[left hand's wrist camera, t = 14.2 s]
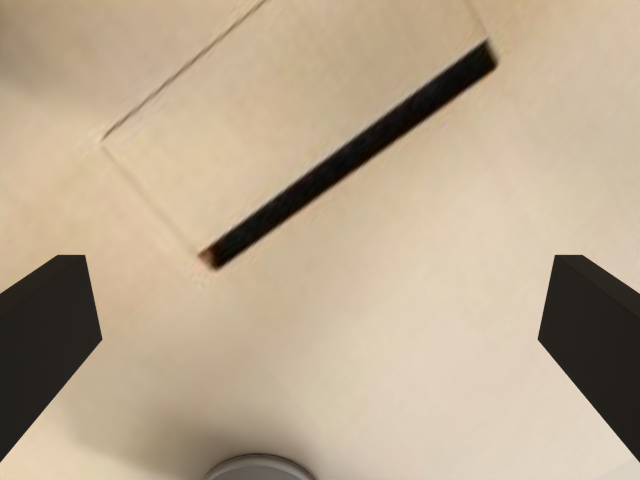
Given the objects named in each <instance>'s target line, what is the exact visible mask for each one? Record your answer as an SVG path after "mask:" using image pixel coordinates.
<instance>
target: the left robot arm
mask: <svg viewBox="0 0 640 480" xmlns="http://www.w3.org/2000/svg"><path fill="white" fill-rule="evenodd" d="M101 341H102V335H101V330H100V325H99V321H98V316H97V311H96V306H95V301H94V296H93V291H92V287H91V282H90V277H89V272H88V267H87V262H86V257H85V255H57V256H55V257H54V258H52V259H51V260H49V261H48V262H46V263H45V264H43V265H42V266H41V267H39V268H38V269H36V270H35V271H33V272H32V273H30V274H29V275H27V276H26V277H24V278H23V279H21V280H20V281H18V282H17V283H15V284H14V285H12V286H11V287H10V288H8V289H7V290H5V291H4V292H2V293H1V294H0V462H1V461H2V460H3V459H4V457H5V456H6V455H7V454H8V453H9V451H10V450H11V449H12V448H13V447H14V445H15V444H16V443H17V442H18V441H19V439H20V438H21V437H22V436H23V434H24V433H25V432H26V431H27V430H28V428H29V427H30V426H31V425H32V424H33V422H34V421H35V420H36V419H37V418H38V416H39V415H40V414H41V413H42V412H43V410H44V409H45V408H46V407H47V406H48V404H49V403H50V402H51V401H52V400H53V398H54V397H55V396H56V395H57V394H58V392H59V391H60V390H61V389H62V388H63V386H64V385H65V384H66V383H67V381H68V380H69V379H70V378H71V377H72V375H73V374H74V373H75V372H76V371H77V369H78V368H79V367H80V366H81V365H82V363H83V362H84V361H85V360H86V359H87V357H88V356H89V355H90V354H91V353H92V351H93V350H94V349H95V348H96V347H97V345H98V344H99V343H100V342H101ZM538 341H539V342H540V343H541V344H542V345H543V347H544V348H545V349H546V350H547V351H548V353H549V354H550V355H551V356H552V357H553V359H554V360H555V361H556V362H557V363H558V365H559V366H560V367H561V368H562V369H563V371H564V372H565V373H566V374H567V375H568V377H569V378H570V379H571V380H572V381H573V383H574V384H575V385H576V386H577V388H578V389H579V390H580V391H581V392H582V394H583V395H584V396H585V397H586V398H587V400H588V401H589V402H590V403H591V404H592V406H593V407H594V408H595V409H596V410H597V412H598V413H599V414H600V415H601V416H602V418H603V419H604V420H605V421H606V422H607V424H608V425H609V426H610V427H611V428H612V430H613V431H614V432H615V433H616V434H617V436H618V437H619V438H620V439H621V441H622V442H623V443H624V444H625V445H626V447H627V448H628V449H629V450H630V451H631V453H632V454H633V455H634V456H635V457H636V459H637V460H638V461H639V462H640V294H639V293H638V292H636V291H635V290H633V289H632V288H630V287H629V286H628V285H626V284H625V283H623V282H622V281H620V280H619V279H617V278H616V277H614V276H613V275H611V274H610V273H608V272H607V271H605V270H604V269H602V268H601V267H599V266H598V265H597V264H595V263H594V262H592V261H591V260H589V259H588V258H586V257H585V256H583V255H555V257H554V262H553V267H552V272H551V277H550V282H549V287H548V291H547V296H546V301H545V306H544V311H543V316H542V321H541V325H540V330H539V335H538ZM204 480H314V479H313V477H312V476H311V475H310V474H309V473H308V472H307V471H306V470H304V469H303V468H302V467H300V466H299V465H297V464H295V463H293V462H291V461H289V460H286V459H283V458H280V457H276V456H271V455H261V454H253V455H244V456H239V457H235V458H232V459H229V460H227V461H225V462H222V463H221V464H219V465H217V466H216V467H215V468H213V469H212V470H211V471H210V472H209V473H208V474H207V475H206V477H205V478H204Z"/></svg>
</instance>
